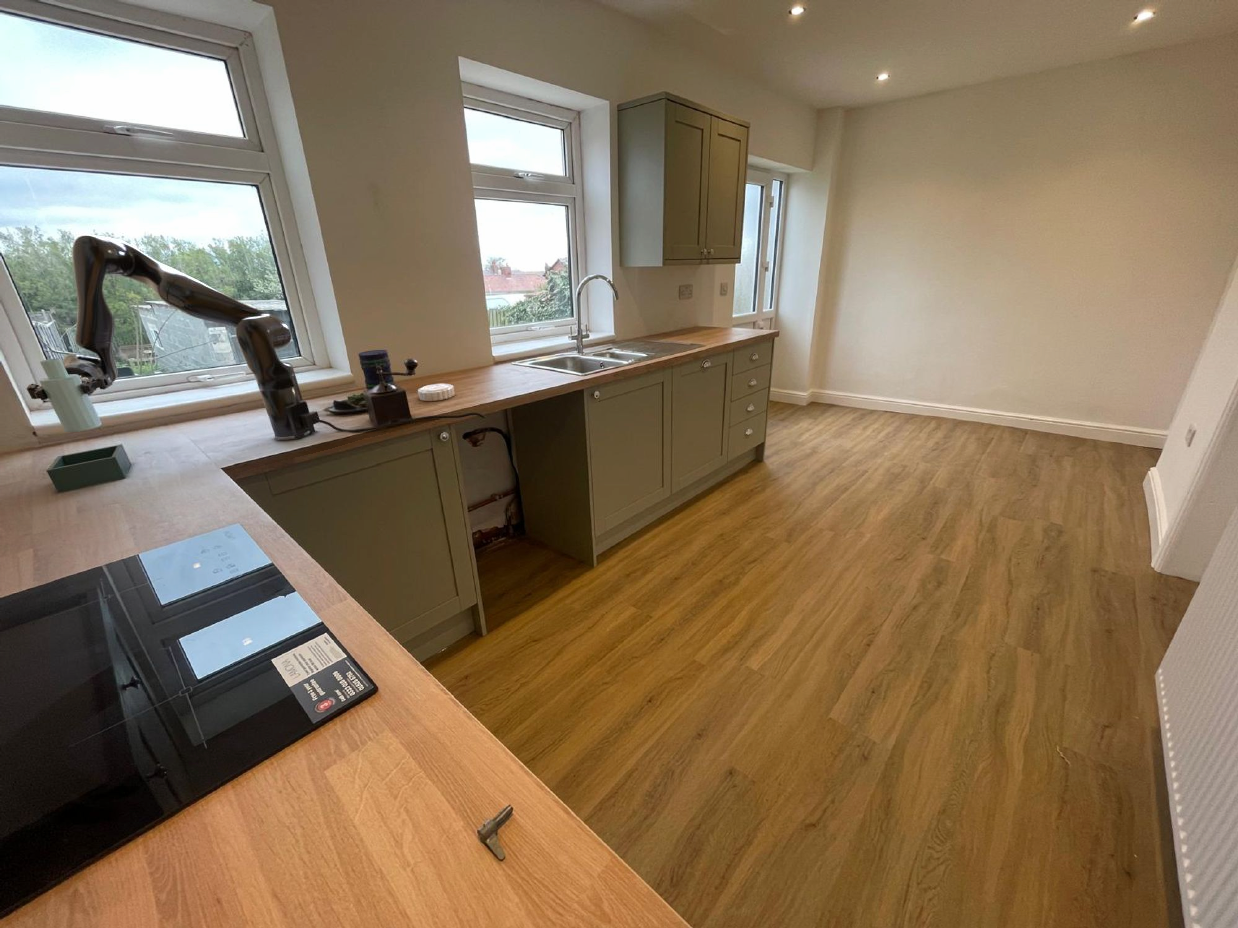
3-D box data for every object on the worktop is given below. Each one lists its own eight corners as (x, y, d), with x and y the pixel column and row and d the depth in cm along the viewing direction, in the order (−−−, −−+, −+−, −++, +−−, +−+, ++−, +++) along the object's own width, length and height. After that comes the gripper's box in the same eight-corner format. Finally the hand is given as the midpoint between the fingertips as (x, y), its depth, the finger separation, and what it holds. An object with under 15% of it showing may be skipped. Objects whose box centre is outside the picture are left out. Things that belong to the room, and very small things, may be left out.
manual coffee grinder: (377, 428, 147) (362, 367, 140) (368, 419, 155) (354, 362, 148) (430, 416, 156) (418, 358, 148) (419, 409, 164) (407, 353, 157)
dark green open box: (131, 464, 129) (122, 444, 127) (125, 478, 120) (115, 456, 118) (69, 476, 123) (58, 456, 121) (58, 492, 114) (46, 470, 112)
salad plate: (338, 402, 176) (334, 389, 175) (391, 396, 180) (388, 384, 178) (320, 418, 159) (316, 404, 157) (380, 412, 162) (377, 398, 160)
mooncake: (413, 398, 177) (411, 388, 176) (444, 390, 185) (442, 380, 184) (429, 403, 169) (427, 393, 168) (461, 395, 177) (459, 385, 176)
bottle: (108, 423, 120) (76, 357, 114) (77, 432, 115) (42, 363, 108) (90, 422, 121) (57, 356, 115) (58, 431, 116) (22, 362, 110)
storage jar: (361, 395, 183) (351, 354, 178) (382, 388, 192) (373, 349, 186) (382, 397, 180) (372, 355, 174) (402, 390, 188) (393, 350, 182)
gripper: (29, 369, 120) (7, 382, 107) (110, 360, 127) (98, 370, 115) (44, 399, 123) (25, 415, 110) (123, 388, 130) (113, 402, 118)
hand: (63, 392), depth 113 cm, fingers closed on bottle, 6 cm apart
